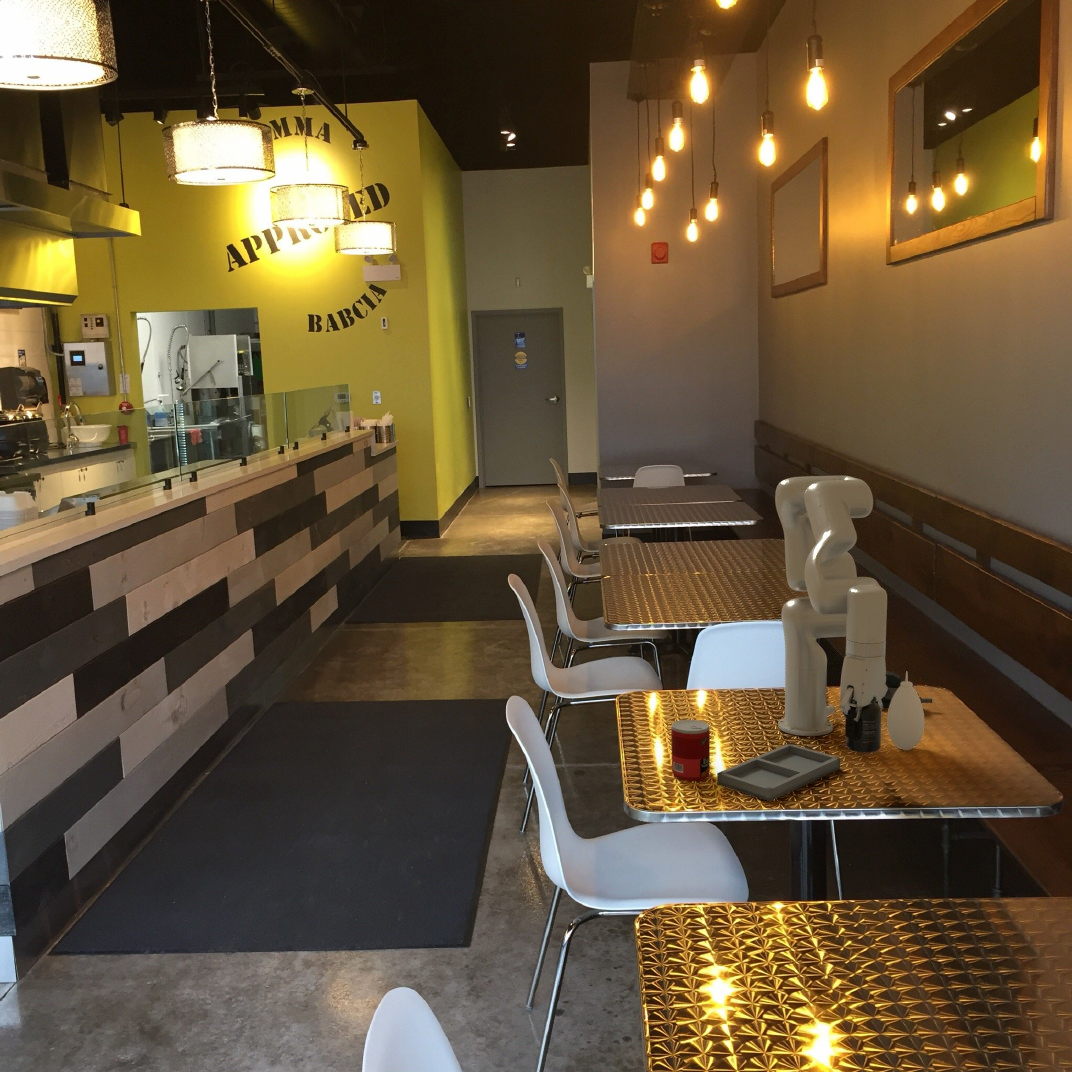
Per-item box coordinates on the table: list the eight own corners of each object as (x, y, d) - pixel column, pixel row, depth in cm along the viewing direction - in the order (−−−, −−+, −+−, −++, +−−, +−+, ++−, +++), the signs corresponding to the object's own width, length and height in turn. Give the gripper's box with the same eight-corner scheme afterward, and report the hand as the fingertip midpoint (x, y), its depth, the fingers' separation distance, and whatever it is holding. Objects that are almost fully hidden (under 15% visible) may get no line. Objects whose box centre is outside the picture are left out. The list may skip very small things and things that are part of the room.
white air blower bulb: (885, 753, 234) (886, 674, 232) (887, 741, 242) (889, 665, 239) (922, 756, 232) (925, 676, 229) (924, 745, 239) (926, 667, 236)
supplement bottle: (882, 744, 216) (884, 687, 214) (878, 756, 210) (880, 697, 208) (847, 739, 219) (849, 683, 216) (842, 751, 212) (844, 693, 210)
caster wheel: (868, 713, 266) (932, 712, 260) (865, 675, 265) (929, 674, 259) (870, 706, 271) (933, 705, 265) (867, 669, 270) (930, 668, 264)
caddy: (788, 754, 235) (788, 743, 235) (840, 769, 226) (840, 757, 225) (717, 784, 219) (717, 773, 219) (769, 801, 209) (769, 789, 209)
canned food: (709, 782, 220) (708, 731, 219) (670, 780, 222) (669, 730, 220) (710, 769, 228) (710, 719, 226) (673, 767, 229) (672, 718, 228)
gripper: (872, 635, 219) (869, 718, 222) (824, 653, 207) (822, 739, 211) (905, 642, 213) (902, 727, 216) (858, 660, 202) (855, 749, 205)
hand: (863, 732), depth 214 cm, fingers closed on supplement bottle, 6 cm apart
